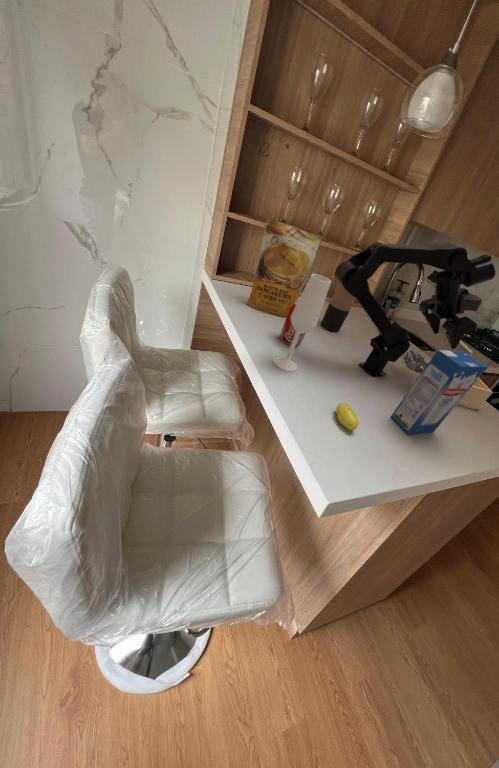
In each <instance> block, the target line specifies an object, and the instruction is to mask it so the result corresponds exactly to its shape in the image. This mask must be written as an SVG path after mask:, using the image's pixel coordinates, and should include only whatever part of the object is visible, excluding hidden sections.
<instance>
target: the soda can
mask: <svg viewBox="0 0 499 768" xmlns="http://www.w3.org/2000/svg"><path fill="white" fill-rule="evenodd" d="M298 301H299V300H297V301H295V303H294V304H293V305H292V306H291V307H290V310H289V312H288V314H287V317H285V320H284V322H283V325H282V328H281V331H280V335H279V338H280V339H281V341H282V342H283V343H285V344H286V345H289V346H291V344H292V341H293V339H294V336H295V334H296V331H295V330H294V328H293V326H292V323H291V315H292V313H293V311H294V309H295V307H296V305H297V303H298ZM305 335H306V333H302V334H300V336H299V339H298V341H297V343H296V346H298V345H300V344H301V343H302V342H303V340H304V337H305Z"/></svg>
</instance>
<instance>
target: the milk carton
mask: <svg viewBox="0 0 499 768" xmlns="http://www.w3.org/2000/svg"><path fill="white" fill-rule="evenodd" d="M428 362H429V363H428V365H427V366H426V367H425V369H424V370H423V372H422V373H421V372H420V374H419V376H418V378H417V379H416V380H415V381H414V383H413V384H412V386H411V387H410V389H409V390H408V391H407V393H406V394H405V395H404V397H403V399H402V400H401V401H400V403H399V404H398V406H397V407H396V408H395V410H394V412H392V414H391V416H390V419H391V420H392V421H393V422H394V423H395V424H396V425H397V426H398V427H399V428H400V429H401V430H402V431H403V432H404V433H405V434H406V435H407V436H413V435H420V434H429V433H430V434H431V433H434V432H435V431H436V430H437V429H438V427H439V426H440V425H441V424H442V423H443V421H445V419H446V418H447V416H448V415H449V414H450V413H451V411H453V409H454V408H456V406H457V403H458V402H459V401H460V400H461V399H462V397H463V396H464V395H465V394H466V393H467V391H468V390H469V389H470V388H471V387H472V385H473V384H474V383H475V382H476V381H477V379H478V378H479V379H480V377H481V376H482V375H483V374H484V373H485V371H486V370H487V369H488V367H489V366H487V365H485V364H484V363H482V362H480V361H479V360H478V359H476V358H474V356H473V355H472V356H470V355H469V354H467V353H466V352H463V351H449V350H446V349H437V351H436V352H435V353H434V354H433V356H432V358H431V359H430V360H429V361H428Z"/></svg>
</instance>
